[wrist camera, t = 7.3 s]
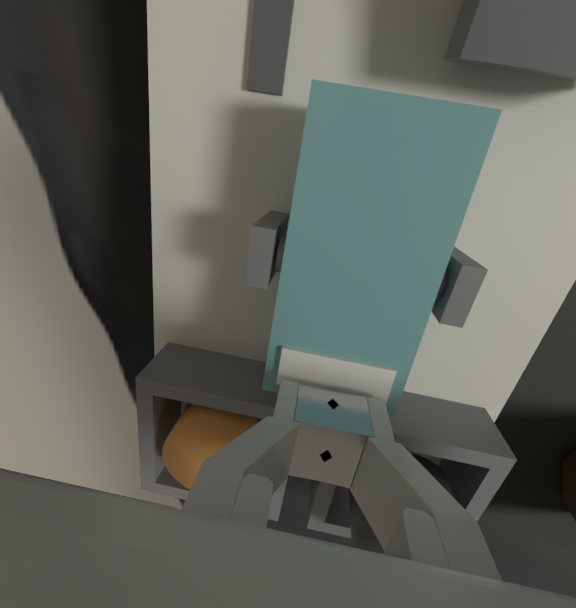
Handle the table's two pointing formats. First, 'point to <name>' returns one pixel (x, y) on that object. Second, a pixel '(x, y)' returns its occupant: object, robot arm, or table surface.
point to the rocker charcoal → (517, 36)
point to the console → (277, 206)
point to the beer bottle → (569, 482)
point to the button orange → (200, 439)
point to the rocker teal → (370, 235)
